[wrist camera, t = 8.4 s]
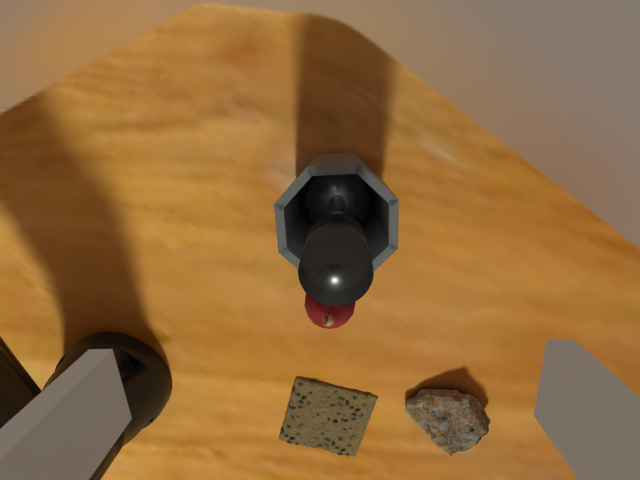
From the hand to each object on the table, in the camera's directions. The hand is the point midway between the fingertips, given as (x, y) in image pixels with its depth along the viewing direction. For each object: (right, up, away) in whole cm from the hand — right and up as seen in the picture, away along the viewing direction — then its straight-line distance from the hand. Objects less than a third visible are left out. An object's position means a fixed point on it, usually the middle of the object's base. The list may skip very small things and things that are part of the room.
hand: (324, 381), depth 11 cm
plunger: (+2, +8, +25) cm, 27 cm away
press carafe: (+2, +10, +29) cm, 30 cm away
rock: (+17, -19, +38) cm, 46 cm away
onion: (+1, -2, +33) cm, 33 cm away
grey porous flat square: (+1, -21, +40) cm, 45 cm away
